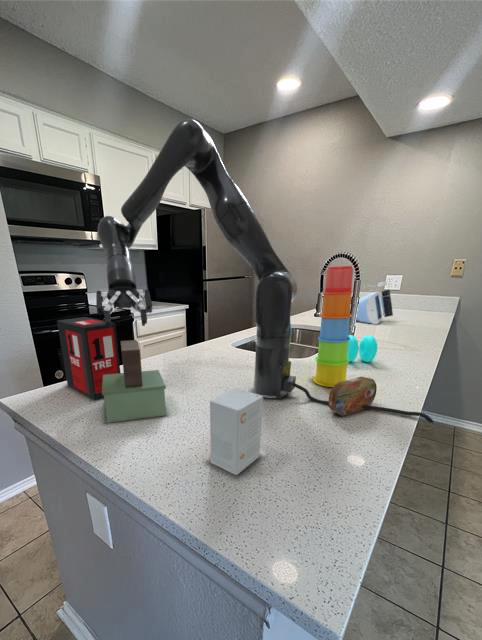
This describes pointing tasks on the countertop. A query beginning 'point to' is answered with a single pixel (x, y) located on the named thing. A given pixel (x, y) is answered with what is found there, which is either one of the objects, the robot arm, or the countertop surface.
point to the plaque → (131, 363)
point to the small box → (235, 429)
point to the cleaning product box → (88, 353)
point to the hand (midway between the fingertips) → (127, 325)
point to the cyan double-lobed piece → (362, 348)
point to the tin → (352, 395)
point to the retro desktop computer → (374, 306)
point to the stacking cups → (334, 327)
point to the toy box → (133, 397)
